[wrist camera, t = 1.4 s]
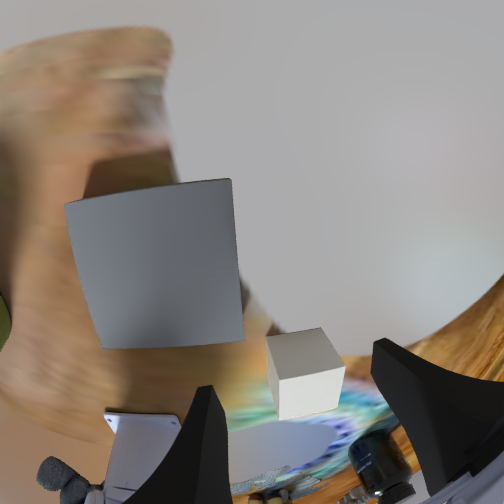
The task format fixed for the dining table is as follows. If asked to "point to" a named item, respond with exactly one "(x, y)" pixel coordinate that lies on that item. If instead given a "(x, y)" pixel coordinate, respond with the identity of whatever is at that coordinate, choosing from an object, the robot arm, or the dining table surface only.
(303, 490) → the stuffed giraffe
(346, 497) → the egg carton
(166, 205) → the slate slab
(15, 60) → the dining table surface
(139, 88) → the dining table surface
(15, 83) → the dining table surface
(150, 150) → the dining table surface
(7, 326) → the plant pot
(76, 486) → the koala plush
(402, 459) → the supplement bottle
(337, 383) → the cream block
